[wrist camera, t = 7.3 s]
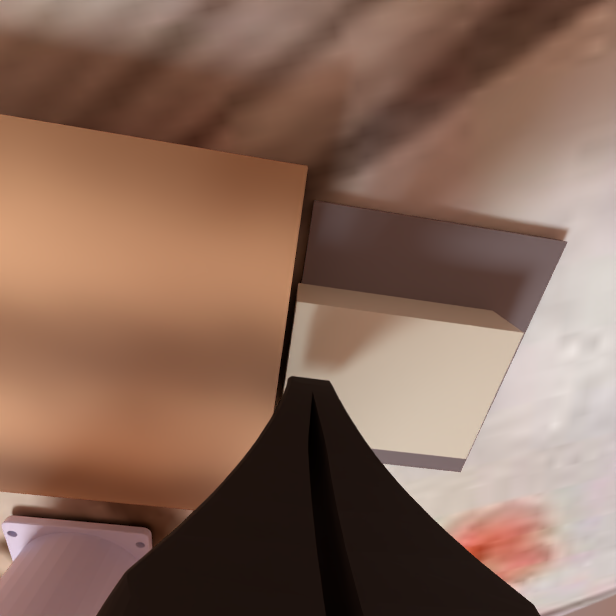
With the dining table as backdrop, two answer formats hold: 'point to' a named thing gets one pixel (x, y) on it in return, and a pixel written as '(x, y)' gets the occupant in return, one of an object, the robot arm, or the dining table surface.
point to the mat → (429, 272)
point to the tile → (403, 365)
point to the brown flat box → (137, 311)
